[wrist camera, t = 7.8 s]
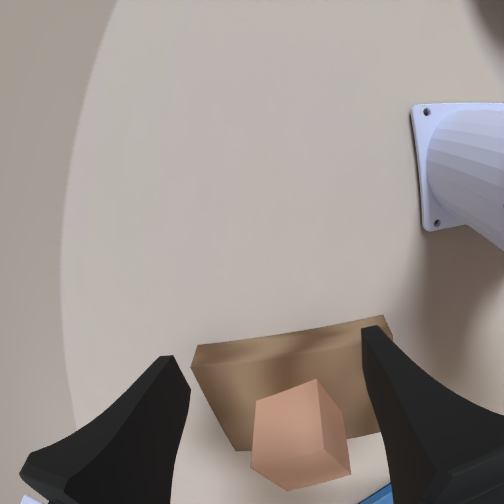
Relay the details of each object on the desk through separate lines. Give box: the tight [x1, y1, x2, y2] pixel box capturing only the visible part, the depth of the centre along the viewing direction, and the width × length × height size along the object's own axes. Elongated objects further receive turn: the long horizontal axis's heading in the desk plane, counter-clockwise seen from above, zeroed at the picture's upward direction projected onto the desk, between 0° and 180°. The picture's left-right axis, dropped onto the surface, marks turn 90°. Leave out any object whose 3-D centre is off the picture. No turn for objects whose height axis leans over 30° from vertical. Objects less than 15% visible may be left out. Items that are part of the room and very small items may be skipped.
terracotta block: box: [251, 379, 351, 491], centre depth 19 cm, size 5×5×6 cm
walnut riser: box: [191, 315, 393, 451], centre depth 23 cm, size 14×12×2 cm
